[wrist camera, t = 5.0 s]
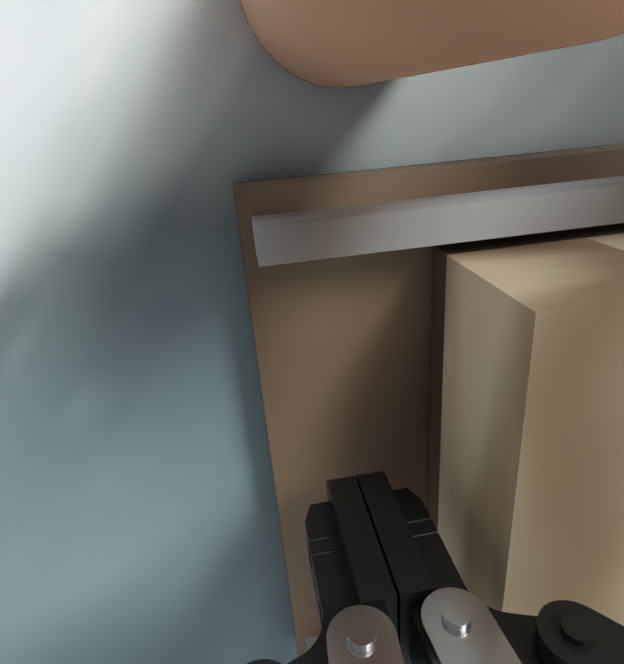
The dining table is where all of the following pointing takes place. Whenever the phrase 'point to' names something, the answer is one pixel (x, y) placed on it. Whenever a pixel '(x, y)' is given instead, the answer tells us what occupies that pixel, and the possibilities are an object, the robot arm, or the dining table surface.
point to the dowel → (418, 34)
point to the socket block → (530, 417)
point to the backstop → (378, 309)
